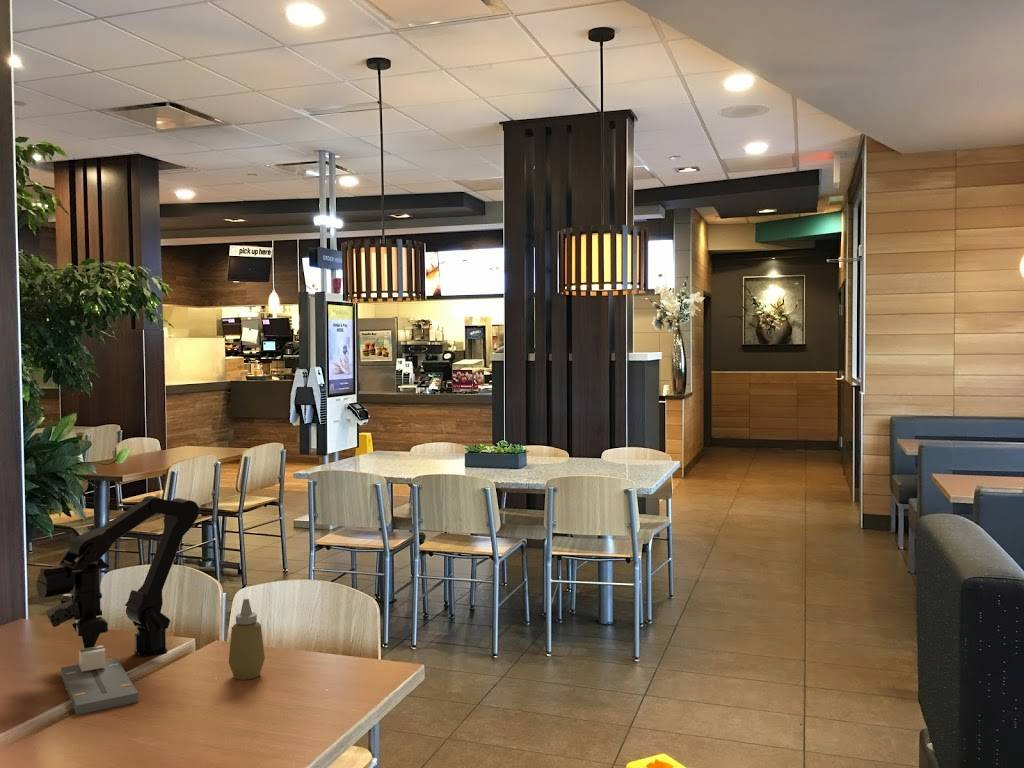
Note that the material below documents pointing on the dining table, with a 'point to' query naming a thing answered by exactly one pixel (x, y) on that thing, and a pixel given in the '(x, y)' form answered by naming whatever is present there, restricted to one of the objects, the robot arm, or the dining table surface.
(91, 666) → the cap
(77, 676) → the plate
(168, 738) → the dining table surface
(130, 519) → the robot arm
